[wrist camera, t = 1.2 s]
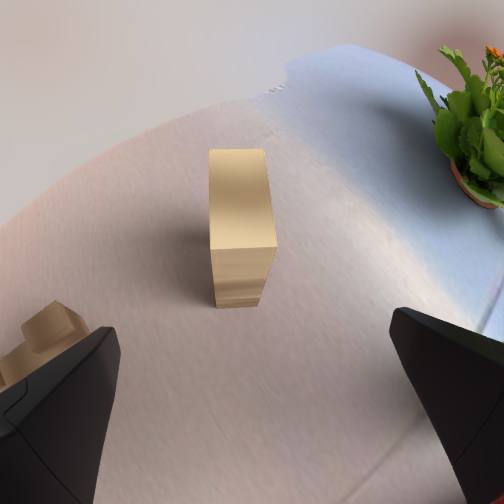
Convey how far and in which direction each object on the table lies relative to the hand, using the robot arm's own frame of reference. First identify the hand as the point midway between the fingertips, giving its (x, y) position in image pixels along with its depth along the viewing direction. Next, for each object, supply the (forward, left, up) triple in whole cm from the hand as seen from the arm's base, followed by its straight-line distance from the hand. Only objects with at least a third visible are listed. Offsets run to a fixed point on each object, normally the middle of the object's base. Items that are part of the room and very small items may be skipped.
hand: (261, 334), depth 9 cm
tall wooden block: (+7, +3, -13) cm, 15 cm away
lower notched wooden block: (-7, +15, -13) cm, 21 cm away
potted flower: (+29, -21, -13) cm, 38 cm away
